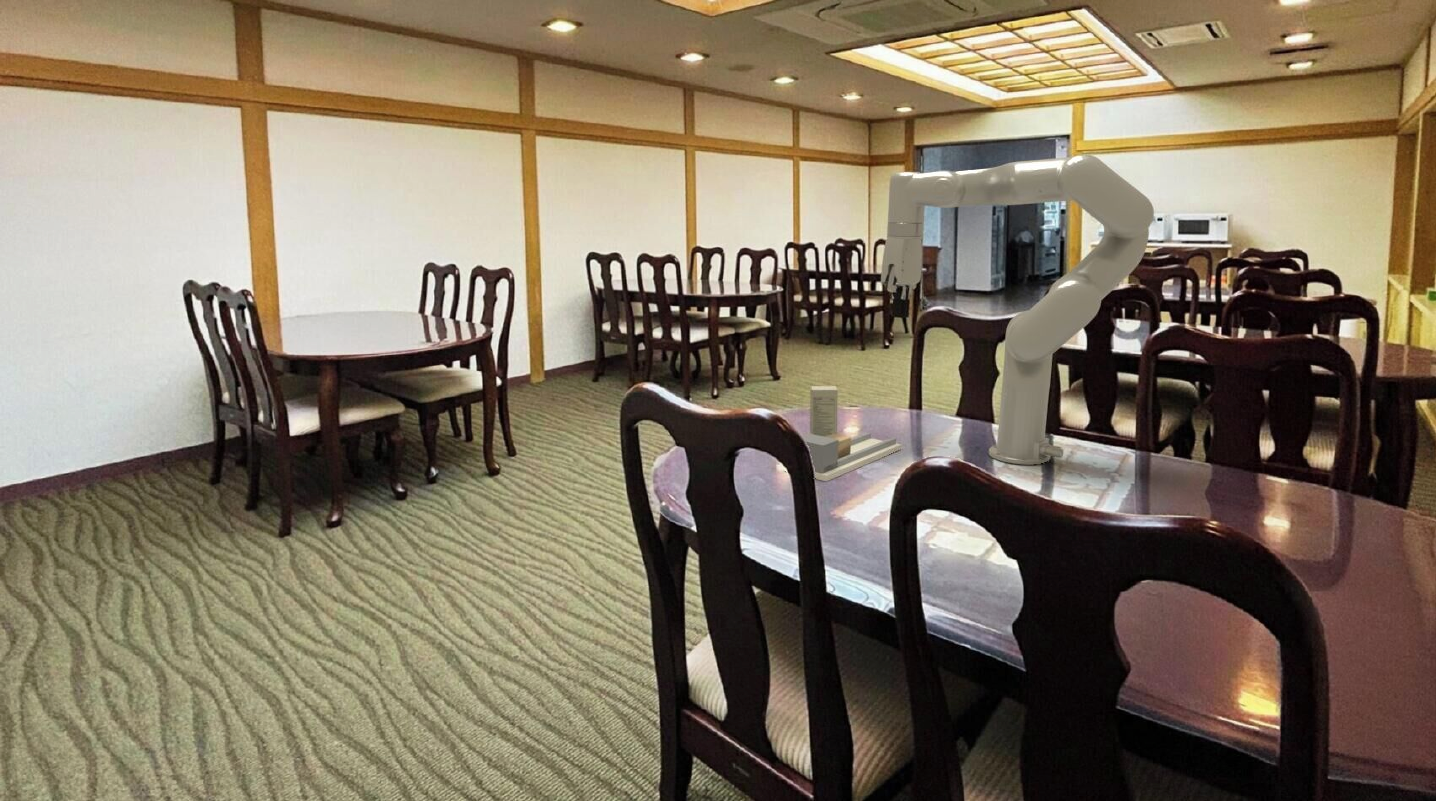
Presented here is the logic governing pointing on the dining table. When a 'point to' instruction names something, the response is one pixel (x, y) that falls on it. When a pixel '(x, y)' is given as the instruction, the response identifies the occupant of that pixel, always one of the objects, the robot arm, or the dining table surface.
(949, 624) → the dining table surface
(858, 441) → the board
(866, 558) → the dining table surface
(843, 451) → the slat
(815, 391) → the skincare box
